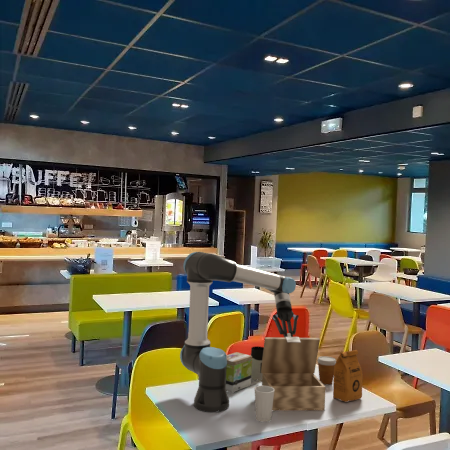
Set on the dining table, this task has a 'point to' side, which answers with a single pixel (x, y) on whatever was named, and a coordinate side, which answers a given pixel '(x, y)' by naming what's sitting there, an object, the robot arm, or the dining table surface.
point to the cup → (264, 403)
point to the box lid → (289, 355)
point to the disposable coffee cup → (326, 369)
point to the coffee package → (347, 377)
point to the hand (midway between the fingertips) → (290, 347)
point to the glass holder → (256, 362)
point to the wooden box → (295, 391)
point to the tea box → (238, 371)
